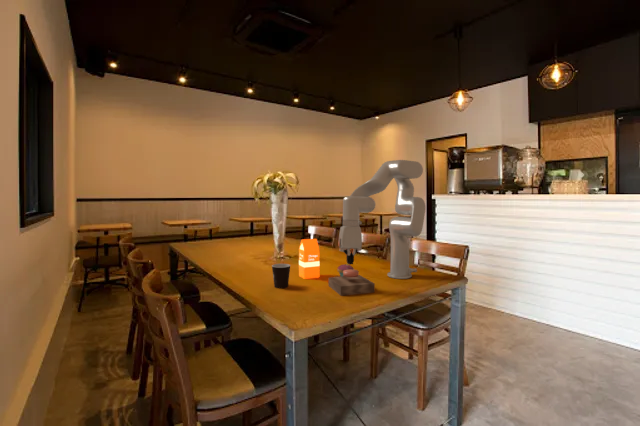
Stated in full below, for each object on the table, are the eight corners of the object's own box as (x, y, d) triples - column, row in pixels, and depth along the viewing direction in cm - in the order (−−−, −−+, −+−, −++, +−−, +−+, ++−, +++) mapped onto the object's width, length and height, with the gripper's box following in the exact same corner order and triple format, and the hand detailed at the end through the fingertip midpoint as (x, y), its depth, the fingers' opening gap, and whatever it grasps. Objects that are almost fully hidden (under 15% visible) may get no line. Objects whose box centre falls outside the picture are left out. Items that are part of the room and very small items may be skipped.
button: (354, 273, 154) (354, 268, 153) (361, 276, 147) (361, 272, 147) (340, 274, 151) (340, 269, 151) (346, 277, 145) (346, 273, 145)
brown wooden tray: (359, 283, 159) (359, 275, 159) (374, 292, 144) (374, 283, 144) (328, 285, 155) (328, 277, 154) (340, 295, 139) (340, 286, 139)
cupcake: (353, 276, 173) (353, 253, 172) (353, 280, 164) (353, 257, 164) (337, 275, 174) (337, 253, 173) (336, 280, 165) (336, 256, 165)
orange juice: (298, 275, 174) (298, 238, 173) (313, 274, 178) (313, 237, 177) (304, 279, 167) (304, 240, 166) (319, 277, 171) (319, 239, 170)
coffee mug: (287, 289, 148) (287, 267, 148) (269, 288, 150) (269, 267, 150) (294, 282, 160) (294, 262, 159) (277, 281, 162) (277, 262, 161)
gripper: (362, 223, 154) (361, 261, 154) (332, 223, 149) (331, 263, 150) (369, 224, 146) (368, 264, 147) (338, 224, 142) (337, 266, 143)
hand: (350, 263), depth 149 cm, fingers closed
